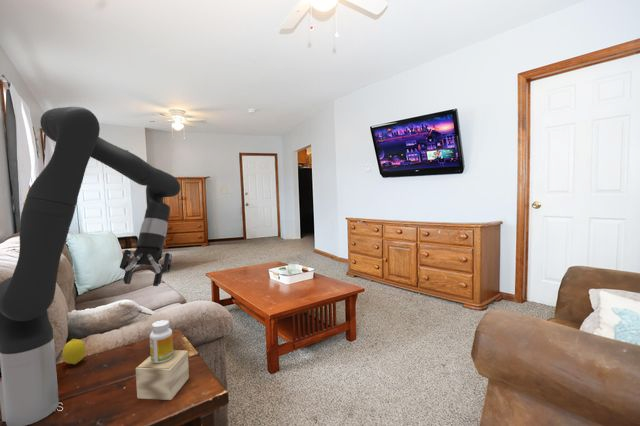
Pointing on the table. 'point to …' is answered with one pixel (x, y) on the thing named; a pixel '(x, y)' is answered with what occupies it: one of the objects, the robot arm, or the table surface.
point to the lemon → (73, 351)
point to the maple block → (162, 377)
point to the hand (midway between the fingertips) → (141, 285)
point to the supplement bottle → (161, 342)
